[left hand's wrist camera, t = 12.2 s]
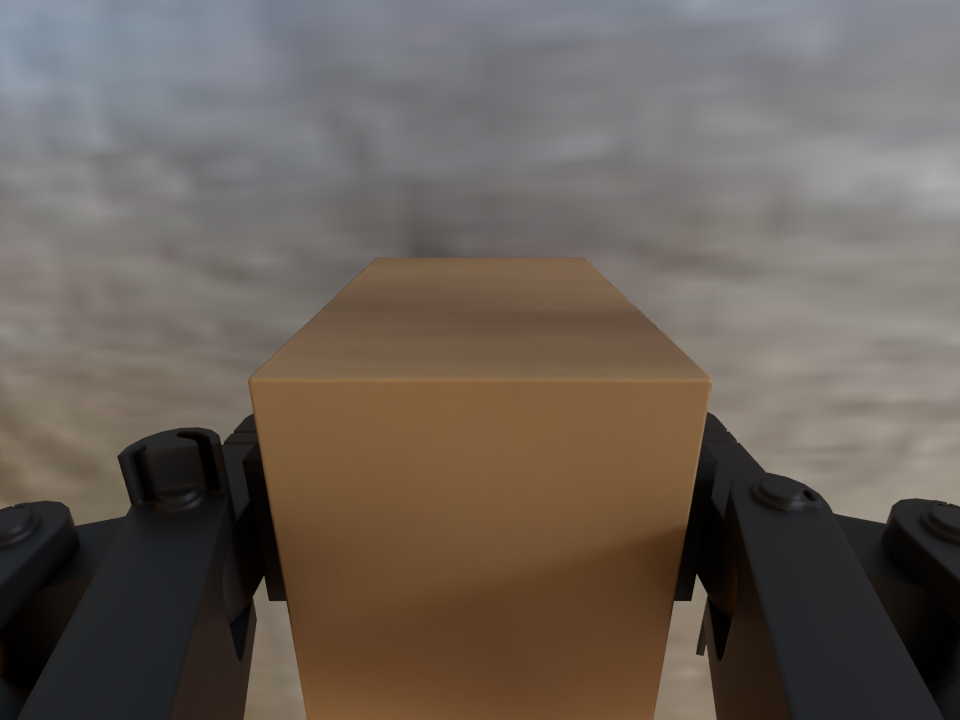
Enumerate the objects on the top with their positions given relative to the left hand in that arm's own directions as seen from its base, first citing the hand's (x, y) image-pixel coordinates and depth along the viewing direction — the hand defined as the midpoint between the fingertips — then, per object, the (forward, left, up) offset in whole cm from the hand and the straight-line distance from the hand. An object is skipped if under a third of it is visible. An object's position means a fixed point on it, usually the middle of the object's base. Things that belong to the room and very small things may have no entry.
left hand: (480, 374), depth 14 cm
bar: (+13, +5, -1) cm, 14 cm away
